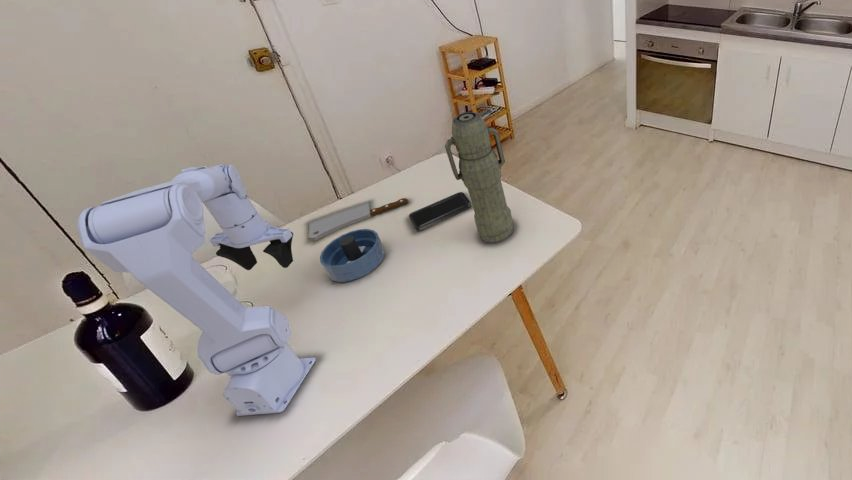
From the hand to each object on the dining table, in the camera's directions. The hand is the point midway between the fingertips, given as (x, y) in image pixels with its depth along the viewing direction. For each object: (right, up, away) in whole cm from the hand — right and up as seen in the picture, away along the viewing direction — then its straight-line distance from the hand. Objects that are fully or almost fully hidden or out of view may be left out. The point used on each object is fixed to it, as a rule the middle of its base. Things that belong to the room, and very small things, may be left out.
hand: (270, 265), depth 88 cm
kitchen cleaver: (+1, +4, +27) cm, 28 cm away
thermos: (+42, +2, +20) cm, 47 cm away
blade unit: (+11, -3, +12) cm, 16 cm away
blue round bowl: (+11, -4, +12) cm, 17 cm away
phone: (+24, +5, +27) cm, 37 cm away
